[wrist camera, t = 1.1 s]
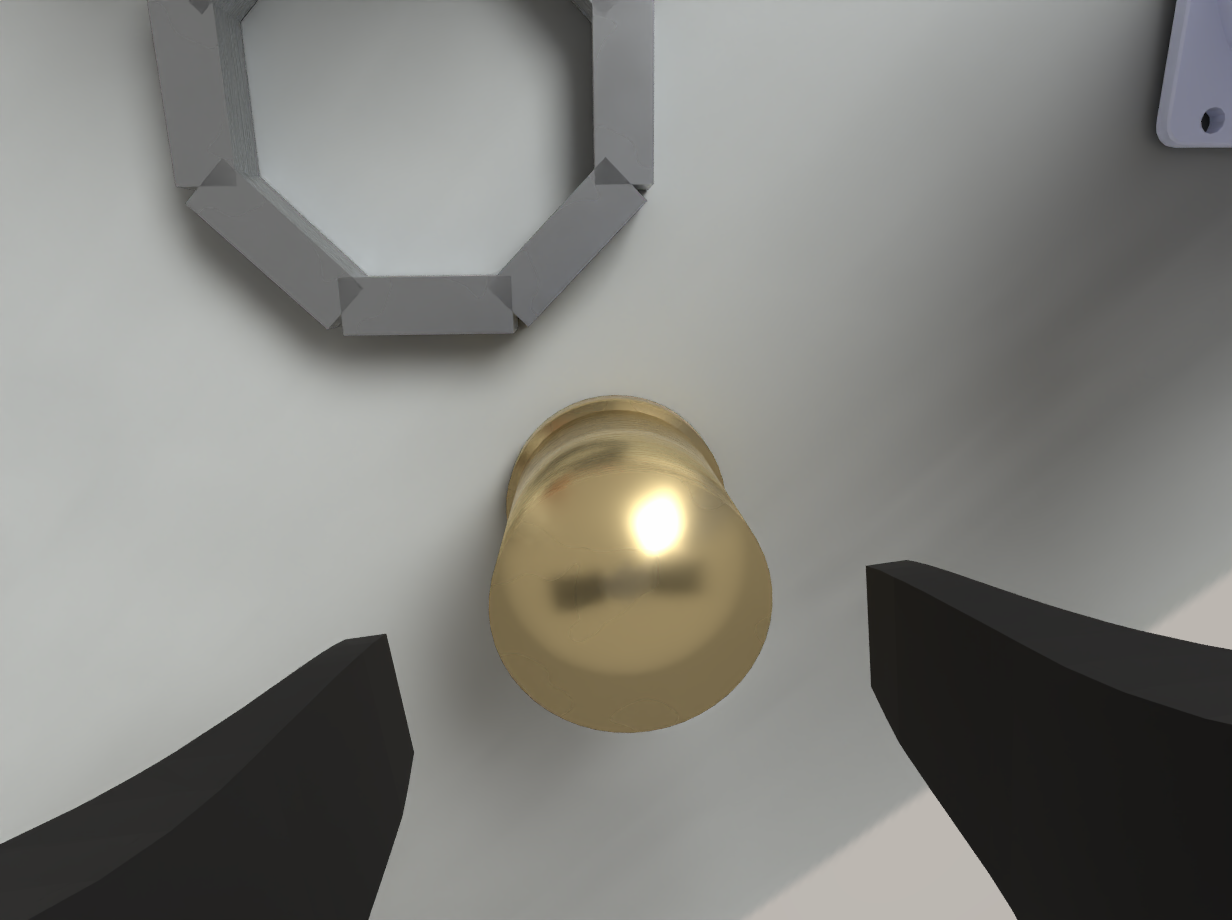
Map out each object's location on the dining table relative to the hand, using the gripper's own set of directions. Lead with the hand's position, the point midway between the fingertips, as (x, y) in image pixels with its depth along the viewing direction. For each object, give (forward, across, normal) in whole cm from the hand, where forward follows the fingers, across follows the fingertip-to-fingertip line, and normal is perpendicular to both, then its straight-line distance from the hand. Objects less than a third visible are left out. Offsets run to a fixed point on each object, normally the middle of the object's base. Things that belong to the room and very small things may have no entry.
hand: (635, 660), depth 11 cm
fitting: (+8, 0, 0) cm, 8 cm away
